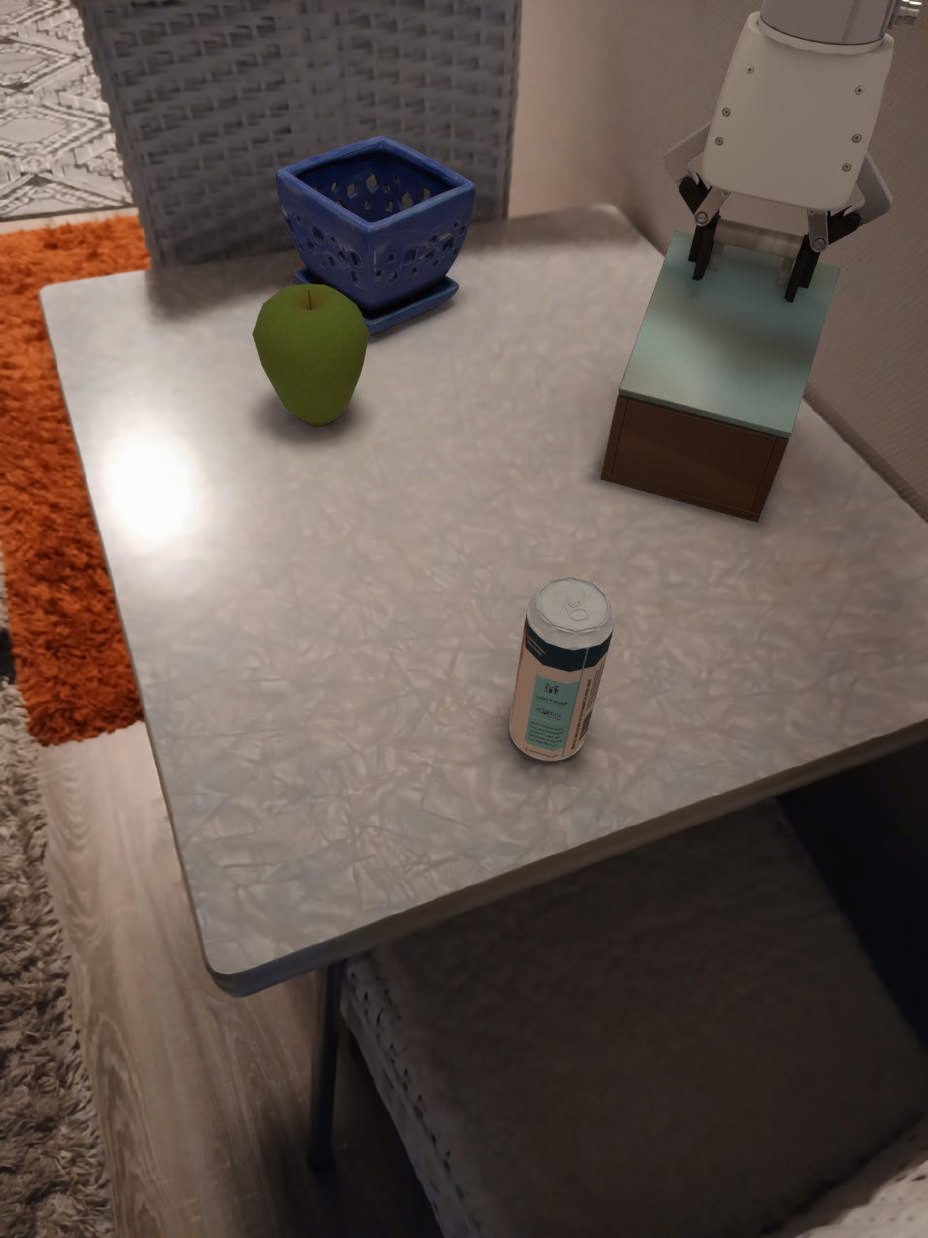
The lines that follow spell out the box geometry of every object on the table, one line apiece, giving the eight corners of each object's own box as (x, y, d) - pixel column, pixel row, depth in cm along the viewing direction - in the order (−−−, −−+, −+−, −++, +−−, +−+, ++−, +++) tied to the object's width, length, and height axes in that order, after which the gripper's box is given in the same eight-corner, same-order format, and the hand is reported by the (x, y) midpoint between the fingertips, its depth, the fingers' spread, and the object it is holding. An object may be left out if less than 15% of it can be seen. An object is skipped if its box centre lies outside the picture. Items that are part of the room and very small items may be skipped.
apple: (243, 427, 79) (225, 298, 71) (302, 376, 84) (292, 250, 76) (334, 463, 77) (326, 334, 68) (389, 408, 82) (388, 282, 73)
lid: (673, 236, 75) (681, 183, 70) (838, 273, 73) (859, 221, 67) (618, 394, 72) (622, 351, 66) (789, 438, 69) (807, 398, 64)
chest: (640, 387, 86) (658, 307, 80) (782, 423, 84) (811, 344, 78) (600, 478, 77) (617, 396, 72) (757, 522, 75) (788, 441, 69)
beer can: (567, 695, 63) (596, 563, 54) (596, 755, 60) (633, 626, 51) (497, 712, 61) (515, 579, 53) (523, 773, 58) (548, 644, 50)
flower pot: (475, 305, 94) (484, 181, 85) (370, 355, 87) (368, 226, 78) (383, 251, 99) (382, 130, 91) (278, 294, 93) (267, 168, 84)
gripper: (976, 13, 59) (867, 285, 73) (697, -35, 62) (643, 234, 76) (975, 52, 54) (858, 336, 68) (672, -2, 58) (619, 279, 71)
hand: (745, 280), depth 72 cm, fingers closed on lid, 6 cm apart
